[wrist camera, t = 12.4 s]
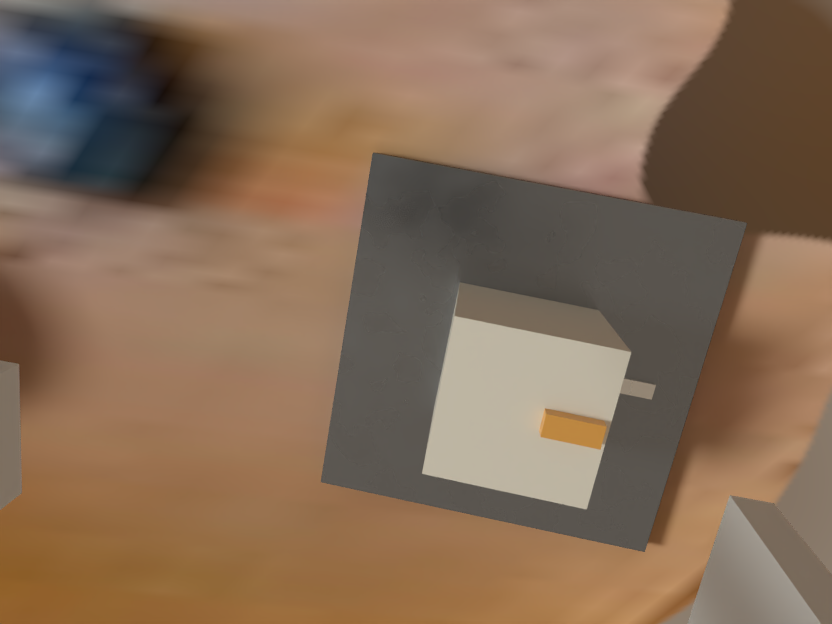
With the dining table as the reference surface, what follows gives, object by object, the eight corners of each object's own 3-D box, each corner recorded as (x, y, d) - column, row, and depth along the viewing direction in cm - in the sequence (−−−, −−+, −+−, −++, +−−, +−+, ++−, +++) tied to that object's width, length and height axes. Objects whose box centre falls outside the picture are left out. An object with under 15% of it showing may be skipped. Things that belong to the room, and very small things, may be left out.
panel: (376, 152, 32) (352, 151, 26) (738, 220, 31) (799, 235, 25) (325, 473, 36) (295, 533, 30) (640, 541, 35) (671, 616, 29)
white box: (433, 409, 33) (420, 480, 26) (459, 282, 32) (453, 319, 24) (564, 437, 33) (589, 517, 26) (598, 309, 31) (635, 356, 24)
